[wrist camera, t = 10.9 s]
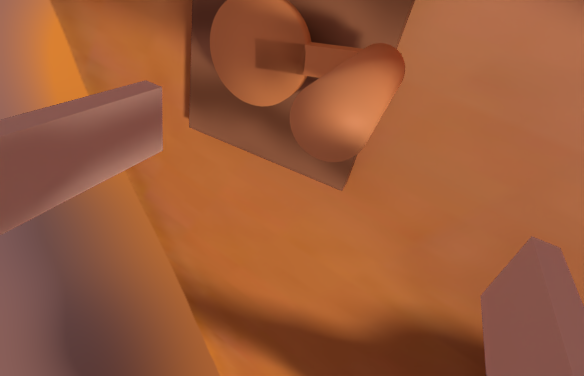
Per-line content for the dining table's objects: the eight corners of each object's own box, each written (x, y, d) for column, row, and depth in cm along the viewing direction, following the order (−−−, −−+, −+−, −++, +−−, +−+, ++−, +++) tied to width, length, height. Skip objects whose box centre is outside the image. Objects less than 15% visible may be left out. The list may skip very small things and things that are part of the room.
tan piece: (222, 93, 26) (109, 145, 17) (216, -13, 22) (67, -13, 14) (394, 126, 22) (354, 214, 13) (422, 3, 18) (391, 18, 10)
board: (346, 183, 30) (326, 218, 26) (198, 122, 34) (157, 143, 29) (453, -103, 19) (451, -131, 14) (211, -152, 22) (146, -188, 18)
